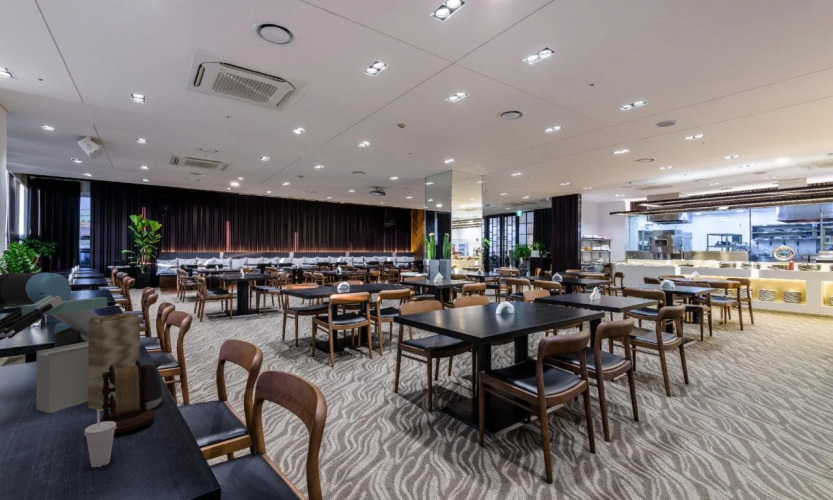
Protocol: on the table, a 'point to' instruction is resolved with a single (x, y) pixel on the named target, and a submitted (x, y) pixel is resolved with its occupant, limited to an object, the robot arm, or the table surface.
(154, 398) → the pump dispenser
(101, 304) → the teal block
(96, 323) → the brown tall block
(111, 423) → the smoothie
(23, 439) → the table surface
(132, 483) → the table surface
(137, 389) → the scroll
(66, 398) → the block
